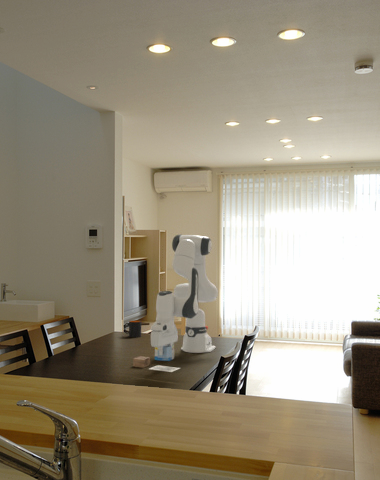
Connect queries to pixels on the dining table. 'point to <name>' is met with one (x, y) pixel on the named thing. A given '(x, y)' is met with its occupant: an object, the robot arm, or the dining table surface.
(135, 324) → the mug
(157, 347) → the ink box
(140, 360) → the walnut block
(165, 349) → the cube
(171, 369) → the letter
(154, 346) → the robot arm
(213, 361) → the dining table surface
